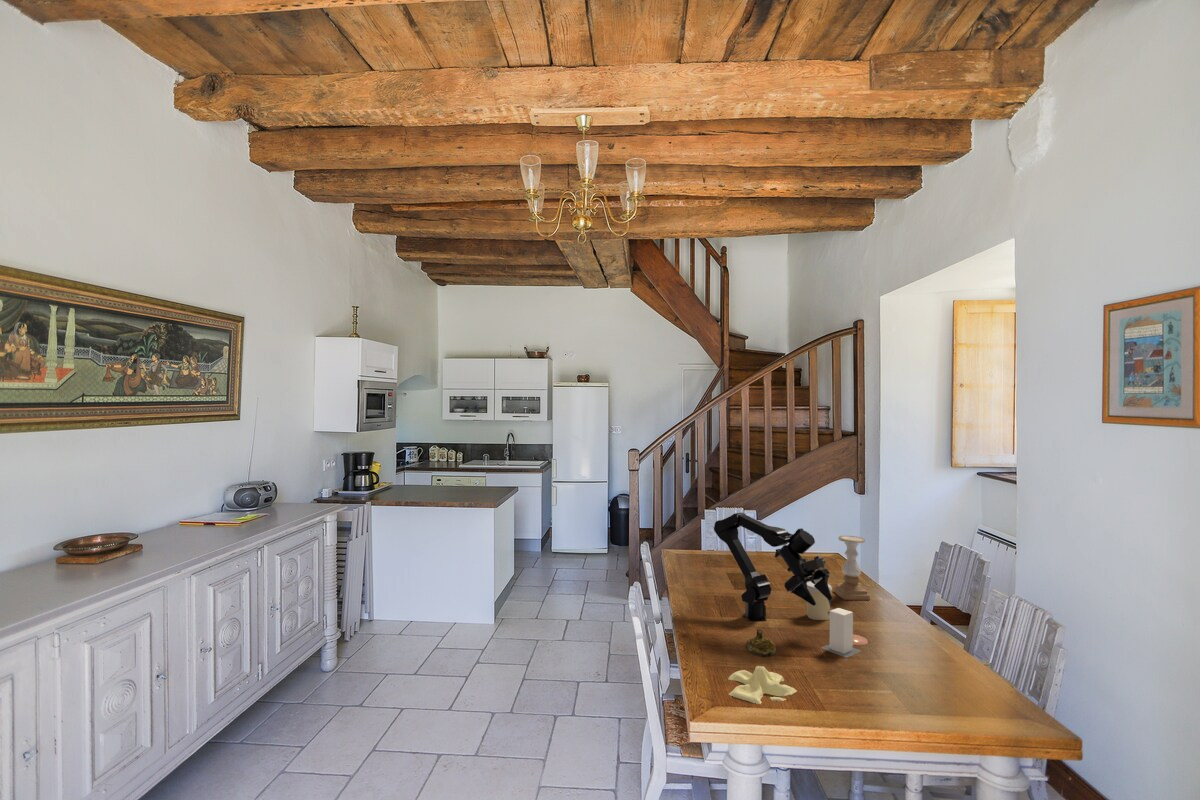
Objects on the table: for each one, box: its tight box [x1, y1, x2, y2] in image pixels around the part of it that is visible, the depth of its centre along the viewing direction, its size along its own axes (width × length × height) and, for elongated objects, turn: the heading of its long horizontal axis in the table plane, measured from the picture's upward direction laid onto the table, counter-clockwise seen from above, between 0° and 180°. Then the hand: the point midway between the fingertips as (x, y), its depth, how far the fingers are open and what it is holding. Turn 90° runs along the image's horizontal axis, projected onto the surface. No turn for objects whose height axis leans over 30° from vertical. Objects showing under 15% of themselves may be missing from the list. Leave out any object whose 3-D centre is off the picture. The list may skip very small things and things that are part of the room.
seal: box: [745, 628, 777, 658], centre depth 185 cm, size 9×5×15 cm
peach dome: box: [853, 633, 869, 646], centre depth 191 cm, size 9×9×1 cm
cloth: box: [728, 665, 798, 705], centre depth 158 cm, size 22×19×6 cm
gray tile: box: [820, 643, 862, 659], centre depth 183 cm, size 9×9×1 cm
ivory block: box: [829, 607, 854, 654], centre depth 184 cm, size 5×5×12 cm
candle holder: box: [833, 535, 871, 601], centre depth 239 cm, size 11×11×24 cm
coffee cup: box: [805, 581, 833, 621], centre depth 213 cm, size 9×9×12 cm
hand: (823, 602), depth 189 cm, fingers open, 9 cm apart
